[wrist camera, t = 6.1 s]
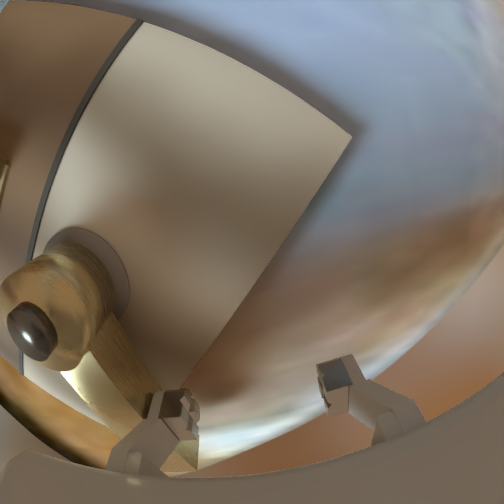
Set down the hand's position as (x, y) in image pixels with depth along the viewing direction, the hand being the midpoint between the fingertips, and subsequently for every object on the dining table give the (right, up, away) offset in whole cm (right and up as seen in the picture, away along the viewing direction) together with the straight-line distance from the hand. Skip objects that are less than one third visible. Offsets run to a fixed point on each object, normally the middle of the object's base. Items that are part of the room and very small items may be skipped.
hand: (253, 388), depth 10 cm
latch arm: (-6, +1, 0) cm, 6 cm away
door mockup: (-10, +7, 0) cm, 12 cm away
